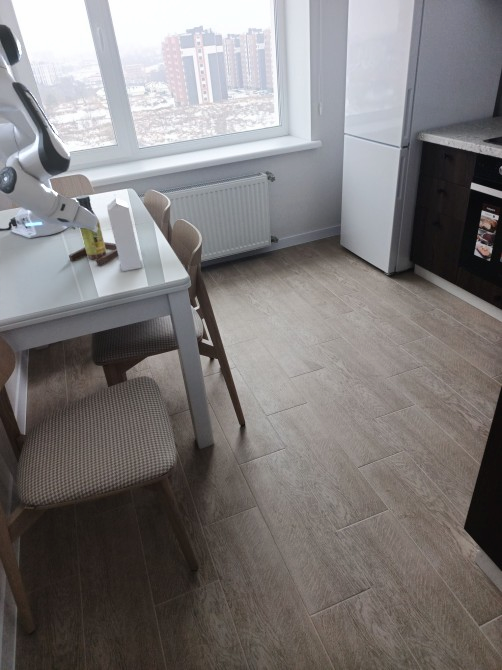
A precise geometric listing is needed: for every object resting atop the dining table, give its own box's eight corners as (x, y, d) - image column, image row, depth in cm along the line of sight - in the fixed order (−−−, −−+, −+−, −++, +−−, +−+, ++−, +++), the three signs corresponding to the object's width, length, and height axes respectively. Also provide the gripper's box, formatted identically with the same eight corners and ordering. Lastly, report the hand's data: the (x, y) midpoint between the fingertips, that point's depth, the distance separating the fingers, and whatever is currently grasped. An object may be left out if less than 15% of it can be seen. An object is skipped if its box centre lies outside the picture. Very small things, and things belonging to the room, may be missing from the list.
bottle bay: (70, 260, 156) (68, 255, 155) (98, 246, 166) (97, 240, 165) (100, 266, 150) (98, 260, 149) (127, 250, 160) (126, 245, 159)
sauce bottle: (102, 260, 154) (85, 199, 144) (84, 260, 155) (67, 200, 145) (110, 252, 159) (95, 193, 149) (93, 252, 161) (78, 194, 150)
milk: (122, 271, 145) (104, 200, 134) (121, 264, 150) (103, 195, 139) (142, 267, 147) (126, 196, 135) (140, 260, 152) (124, 191, 140)
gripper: (24, 214, 142) (58, 234, 155) (72, 220, 133) (105, 241, 146) (31, 195, 143) (65, 216, 155) (80, 200, 134) (111, 222, 146)
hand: (85, 228), depth 150 cm, fingers open, 8 cm apart
